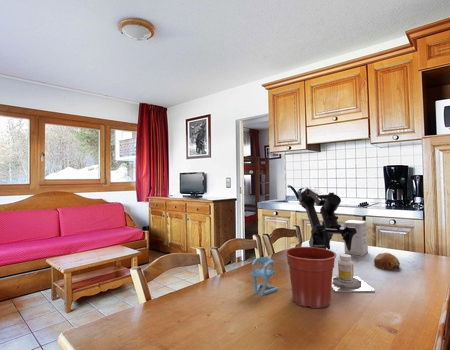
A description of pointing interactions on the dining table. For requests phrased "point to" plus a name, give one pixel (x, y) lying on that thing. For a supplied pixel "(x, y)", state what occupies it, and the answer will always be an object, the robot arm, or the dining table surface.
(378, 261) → the bread roll
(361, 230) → the supplement box
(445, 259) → the dining table surface
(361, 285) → the flange
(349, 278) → the supplement bottle
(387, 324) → the dining table surface
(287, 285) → the dining table surface
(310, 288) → the flower pot
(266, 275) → the chair
